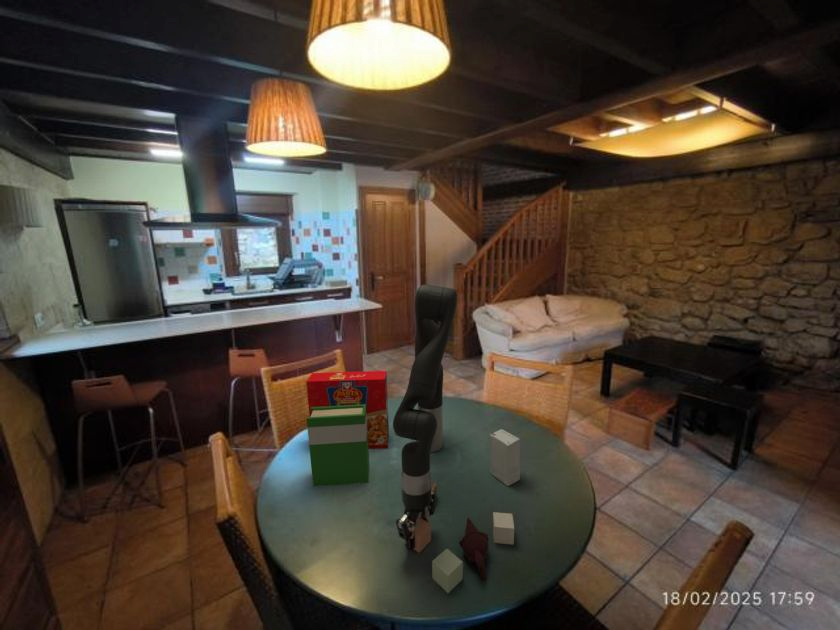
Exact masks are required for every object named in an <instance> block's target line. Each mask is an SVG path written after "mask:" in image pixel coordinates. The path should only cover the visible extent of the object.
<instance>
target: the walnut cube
mask: <svg viewBox="0 0 840 630" xmlns="http://www.w3.org/2000/svg"><path fill="white" fill-rule="evenodd" d="M437 485H438V483H437V482H433V481H431V492H433V493H435V494H436V499H437V498H438V495H437V494H438V486H437ZM429 508H430V509H431V506H429Z"/></svg>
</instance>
